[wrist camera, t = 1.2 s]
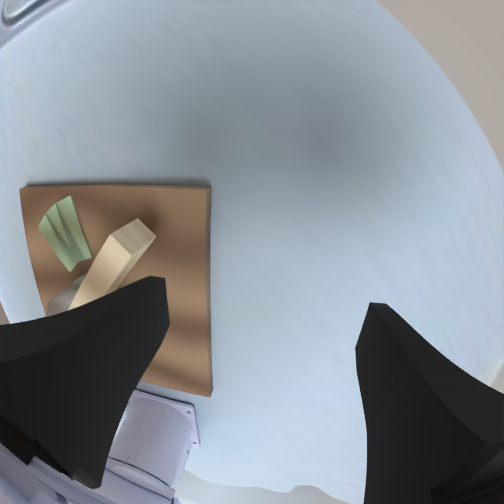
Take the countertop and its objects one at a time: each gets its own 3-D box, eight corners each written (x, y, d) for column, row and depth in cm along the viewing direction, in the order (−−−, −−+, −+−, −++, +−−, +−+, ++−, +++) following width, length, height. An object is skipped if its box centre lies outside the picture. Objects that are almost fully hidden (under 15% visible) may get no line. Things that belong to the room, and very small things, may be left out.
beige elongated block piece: (110, 336, 22) (86, 365, 18) (69, 296, 21) (41, 320, 17) (183, 249, 17) (155, 278, 14) (127, 196, 17) (89, 212, 13)
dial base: (212, 389, 24) (209, 398, 23) (63, 346, 26) (58, 351, 25) (210, 187, 17) (205, 190, 16) (27, 186, 19) (17, 189, 18)
